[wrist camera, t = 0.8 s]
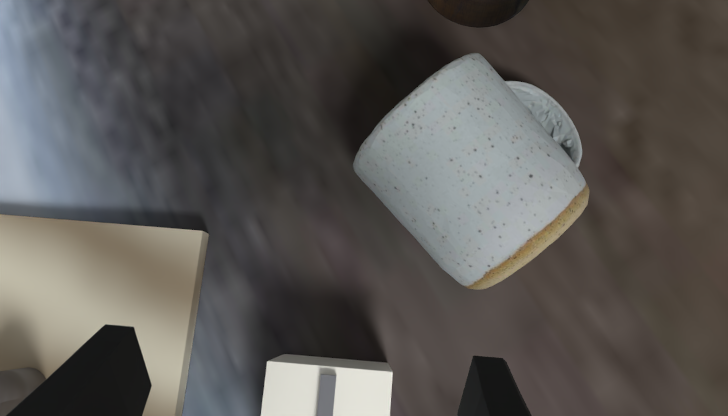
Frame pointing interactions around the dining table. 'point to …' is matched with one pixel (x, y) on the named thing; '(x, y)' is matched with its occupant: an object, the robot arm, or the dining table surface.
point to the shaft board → (96, 299)
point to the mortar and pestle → (478, 11)
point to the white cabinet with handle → (326, 387)
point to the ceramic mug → (477, 170)
